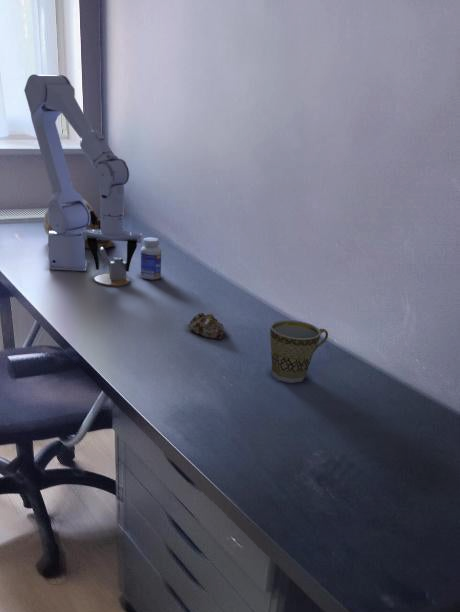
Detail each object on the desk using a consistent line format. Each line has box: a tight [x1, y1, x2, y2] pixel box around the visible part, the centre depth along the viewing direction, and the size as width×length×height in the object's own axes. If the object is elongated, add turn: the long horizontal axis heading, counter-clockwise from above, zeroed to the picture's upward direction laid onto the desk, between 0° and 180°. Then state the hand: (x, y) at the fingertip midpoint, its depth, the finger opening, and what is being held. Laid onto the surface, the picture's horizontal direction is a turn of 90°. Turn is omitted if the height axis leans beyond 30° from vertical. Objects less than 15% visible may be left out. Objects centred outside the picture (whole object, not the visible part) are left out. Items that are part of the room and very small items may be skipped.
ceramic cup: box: [269, 319, 329, 384], centre depth 143 cm, size 13×10×10 cm
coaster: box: [94, 273, 131, 287], centre depth 184 cm, size 9×9×1 cm
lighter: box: [98, 247, 127, 280], centre depth 182 cm, size 7×2×8 cm, turn 114°
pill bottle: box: [140, 236, 162, 281], centre depth 187 cm, size 5×5×10 cm
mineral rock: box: [188, 312, 226, 340], centre depth 160 cm, size 11×4×8 cm
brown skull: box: [43, 199, 115, 250], centre depth 206 cm, size 16×17×13 cm
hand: (112, 269), depth 183 cm, fingers closed on lighter, 7 cm apart
